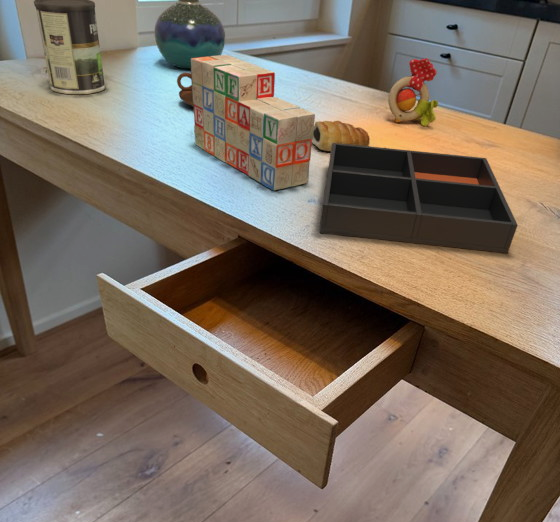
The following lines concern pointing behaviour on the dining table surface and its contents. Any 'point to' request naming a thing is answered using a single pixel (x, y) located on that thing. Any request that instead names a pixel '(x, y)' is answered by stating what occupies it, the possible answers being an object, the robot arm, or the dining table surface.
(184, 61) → the vase
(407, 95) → the bird rattle
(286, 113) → the stack of blocks
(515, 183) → the dining table surface
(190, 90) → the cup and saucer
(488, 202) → the grid
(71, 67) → the coffee can
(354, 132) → the pastry
